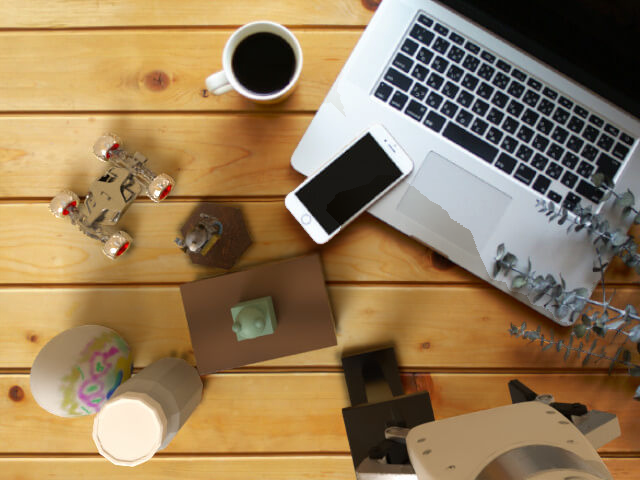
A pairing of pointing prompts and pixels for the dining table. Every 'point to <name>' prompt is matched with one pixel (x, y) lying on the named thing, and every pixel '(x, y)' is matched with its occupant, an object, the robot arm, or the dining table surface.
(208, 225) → the robot figurine
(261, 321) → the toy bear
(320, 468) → the dining table surface
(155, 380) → the jar
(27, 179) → the dining table surface
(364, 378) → the plant stand
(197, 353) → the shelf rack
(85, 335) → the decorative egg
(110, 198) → the toy car
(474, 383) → the dining table surface
